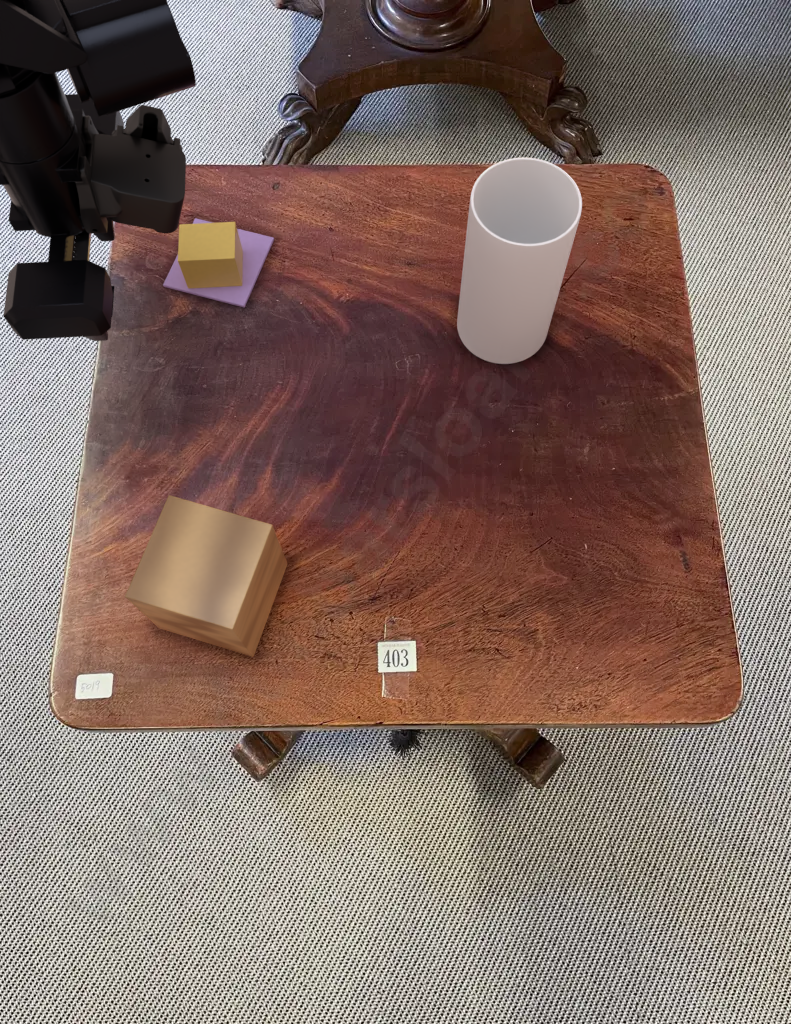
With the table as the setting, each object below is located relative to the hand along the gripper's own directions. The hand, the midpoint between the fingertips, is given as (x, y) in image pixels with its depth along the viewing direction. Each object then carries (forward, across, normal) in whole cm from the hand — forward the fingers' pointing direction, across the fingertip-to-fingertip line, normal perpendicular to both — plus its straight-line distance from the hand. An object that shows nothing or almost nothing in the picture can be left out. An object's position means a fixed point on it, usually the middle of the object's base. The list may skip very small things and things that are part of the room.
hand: (104, 287), depth 66 cm
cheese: (+11, +10, -6) cm, 16 cm away
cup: (+11, +2, -32) cm, 34 cm away
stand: (+11, -22, -7) cm, 26 cm away
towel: (+11, +11, -7) cm, 17 cm away
